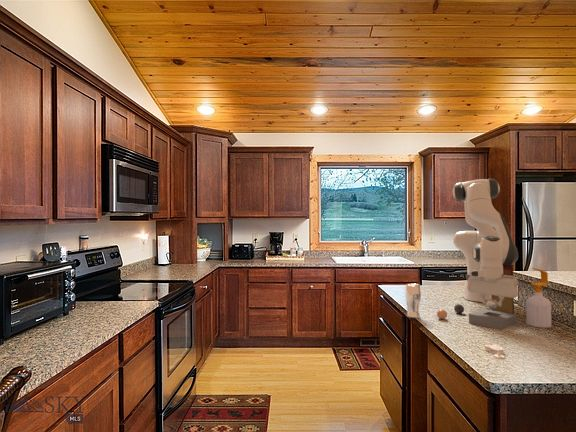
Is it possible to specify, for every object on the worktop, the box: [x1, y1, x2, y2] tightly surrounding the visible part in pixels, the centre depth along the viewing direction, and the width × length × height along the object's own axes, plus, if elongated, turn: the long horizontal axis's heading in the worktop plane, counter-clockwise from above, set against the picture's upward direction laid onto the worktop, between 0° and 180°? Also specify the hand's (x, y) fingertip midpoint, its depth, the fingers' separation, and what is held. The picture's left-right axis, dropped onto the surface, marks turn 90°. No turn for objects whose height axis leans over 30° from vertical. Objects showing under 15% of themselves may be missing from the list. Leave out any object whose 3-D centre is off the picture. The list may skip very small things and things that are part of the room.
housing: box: [468, 308, 517, 331], centre depth 168 cm, size 14×14×4 cm
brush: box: [483, 341, 506, 360], centre depth 132 cm, size 9×9×2 cm
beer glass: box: [405, 283, 422, 319], centre depth 181 cm, size 7×7×15 cm
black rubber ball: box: [453, 303, 465, 314], centre depth 186 cm, size 4×4×4 cm
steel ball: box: [485, 299, 497, 310], centre depth 168 cm, size 4×4×4 cm
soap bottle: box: [525, 267, 552, 329], centre depth 165 cm, size 9×9×25 cm
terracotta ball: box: [436, 308, 448, 320], centre depth 176 cm, size 4×4×4 cm
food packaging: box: [491, 264, 515, 314], centre depth 182 cm, size 13×9×25 cm
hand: (492, 304), depth 168 cm, fingers closed on steel ball, 4 cm apart
